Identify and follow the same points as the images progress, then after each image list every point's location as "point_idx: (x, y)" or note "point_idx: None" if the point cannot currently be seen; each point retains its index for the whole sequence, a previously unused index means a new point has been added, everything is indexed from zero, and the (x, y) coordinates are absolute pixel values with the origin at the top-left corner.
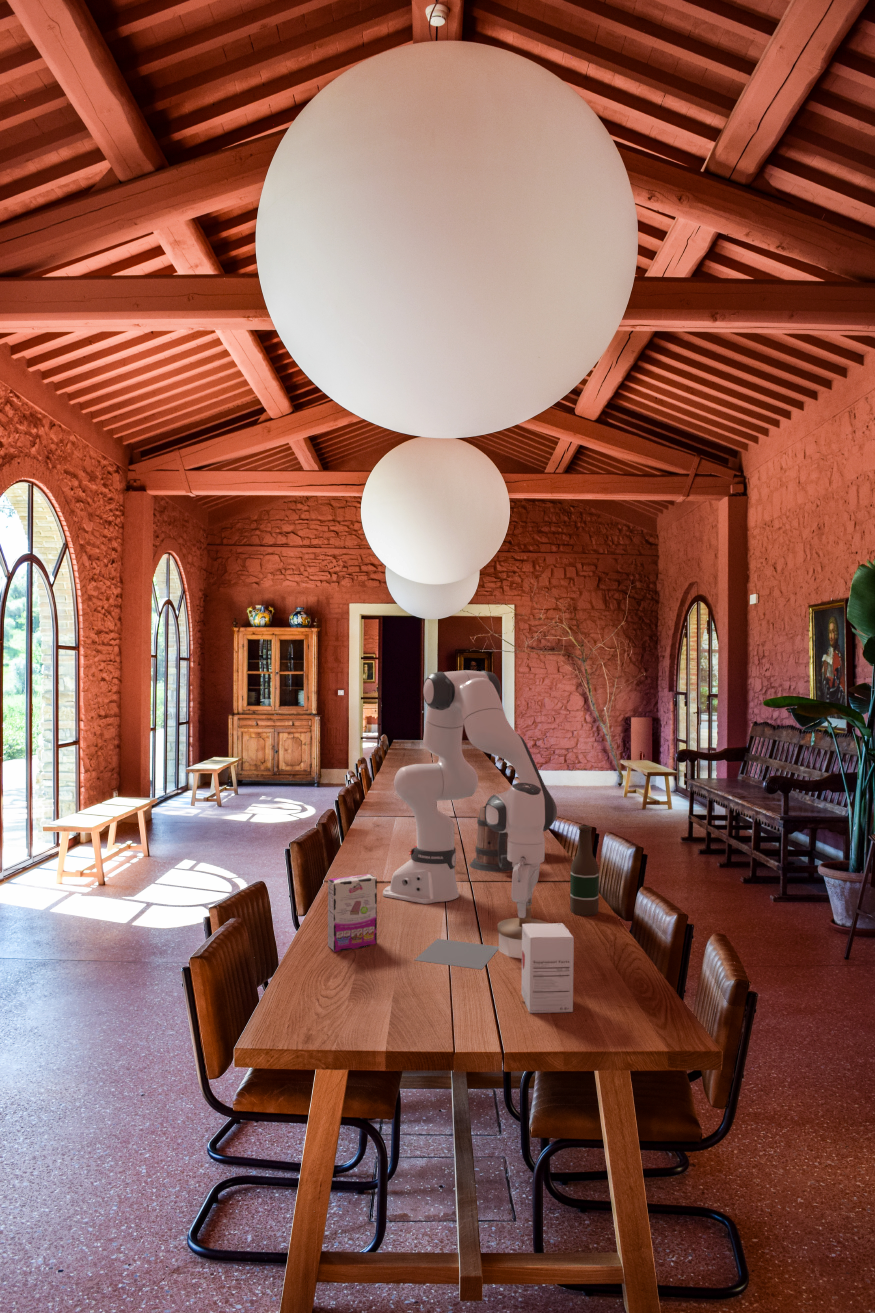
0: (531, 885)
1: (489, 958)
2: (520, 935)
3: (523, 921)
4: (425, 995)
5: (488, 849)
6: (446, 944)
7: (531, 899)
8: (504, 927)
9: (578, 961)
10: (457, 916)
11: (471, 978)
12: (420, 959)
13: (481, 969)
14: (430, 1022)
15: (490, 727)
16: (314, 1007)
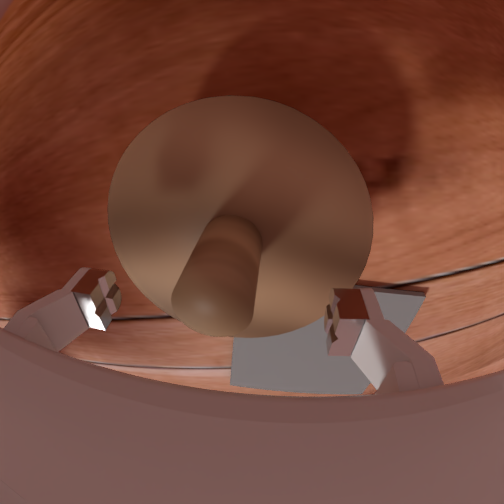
0: (288, 498)
1: None
2: (368, 251)
3: (259, 267)
4: (488, 343)
5: None
6: (261, 373)
7: (76, 288)
8: (278, 318)
9: (288, 5)
10: (79, 348)
11: (450, 303)
12: (358, 389)
13: (425, 297)
14: None
15: None
16: None
